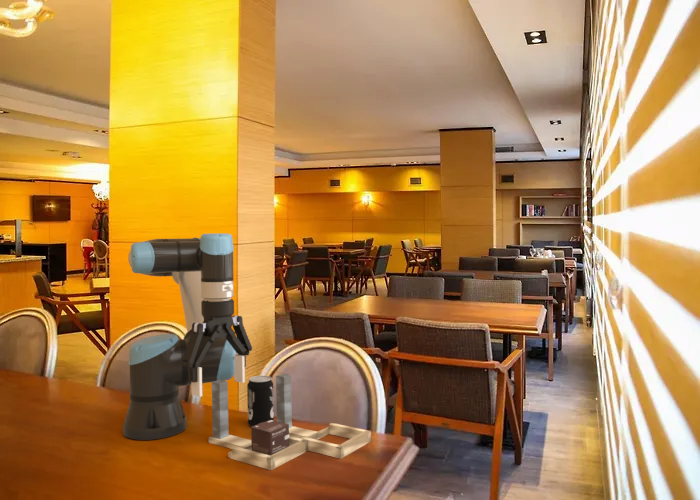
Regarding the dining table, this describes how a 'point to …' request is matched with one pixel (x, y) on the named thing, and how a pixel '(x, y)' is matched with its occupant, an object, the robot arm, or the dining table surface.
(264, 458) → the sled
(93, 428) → the dining table surface
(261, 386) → the beverage can
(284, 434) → the box
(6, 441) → the dining table surface
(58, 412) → the dining table surface
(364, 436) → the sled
